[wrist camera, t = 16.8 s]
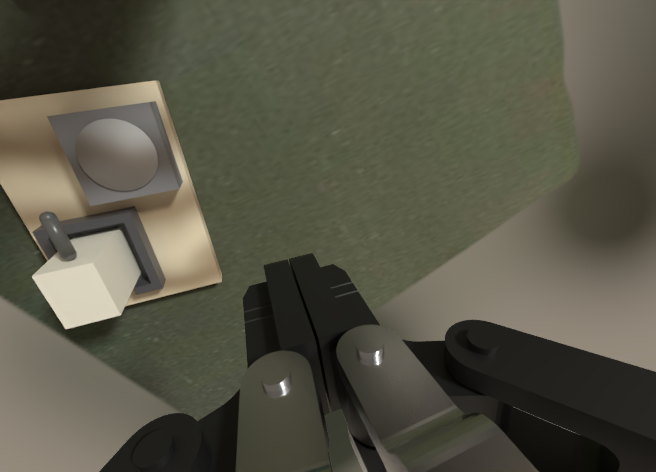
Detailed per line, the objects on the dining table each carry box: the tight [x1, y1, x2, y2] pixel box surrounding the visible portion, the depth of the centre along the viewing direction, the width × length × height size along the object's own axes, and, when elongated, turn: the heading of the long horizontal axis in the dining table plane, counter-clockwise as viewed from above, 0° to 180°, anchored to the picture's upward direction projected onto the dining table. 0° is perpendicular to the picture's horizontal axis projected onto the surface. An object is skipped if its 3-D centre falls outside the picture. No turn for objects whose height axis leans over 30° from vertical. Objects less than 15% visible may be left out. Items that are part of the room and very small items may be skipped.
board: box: [0, 81, 222, 306], centre depth 29 cm, size 20×14×4 cm
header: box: [32, 206, 166, 295], centre depth 30 cm, size 8×8×2 cm
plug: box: [32, 211, 141, 329], centre depth 27 cm, size 10×4×7 cm, turn 8°
